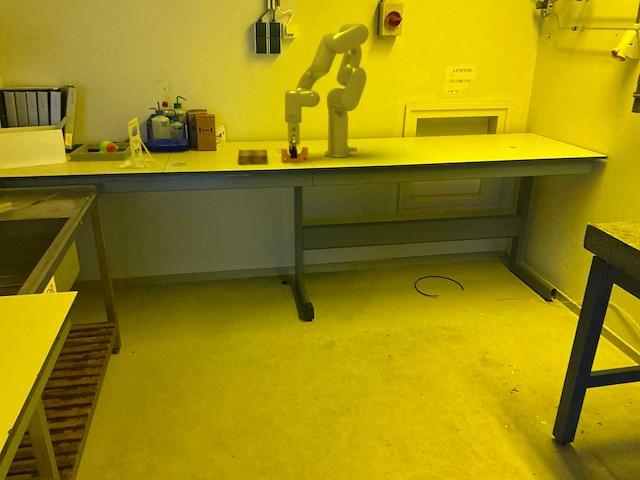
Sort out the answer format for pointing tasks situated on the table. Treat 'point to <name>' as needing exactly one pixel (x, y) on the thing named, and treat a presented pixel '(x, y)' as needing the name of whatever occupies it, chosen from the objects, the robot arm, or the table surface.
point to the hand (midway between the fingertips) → (293, 155)
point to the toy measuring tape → (108, 147)
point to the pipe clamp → (300, 158)
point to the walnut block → (252, 157)
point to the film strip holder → (135, 147)
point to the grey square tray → (83, 156)
